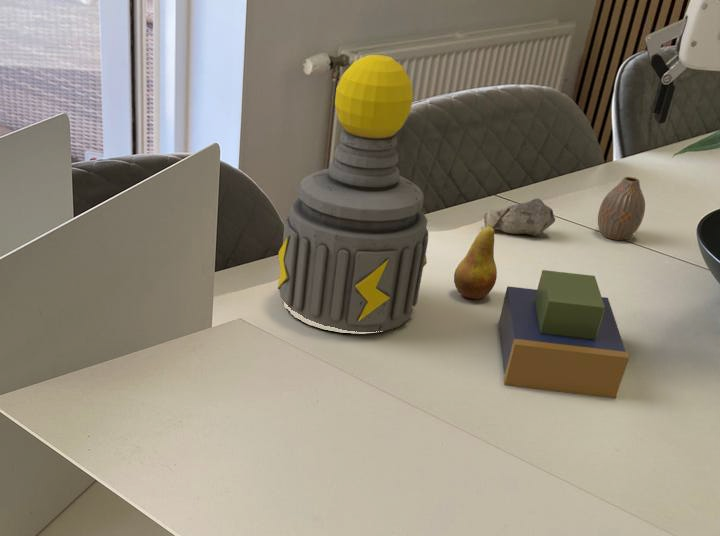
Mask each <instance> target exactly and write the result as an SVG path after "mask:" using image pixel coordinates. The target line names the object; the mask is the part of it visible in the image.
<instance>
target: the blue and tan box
mask: <svg viewBox="0 0 720 536" xmlns="http://www.w3.org/2000/svg"><path fill="white" fill-rule="evenodd" d="M536 293H537V289H534V288H525V287H517V286H509V285H508V286H506V290H505V293H504V298H503V302H502V306H501V311H500V315H499V320H498V330H499V337H500V339H499V340H500V347H501V354H502V355H501V357H502V365H503V373H504V377H503V383H504V386H511V387H517V388H527V389H534V390H535V389H536V390H544V391H551V390H553V392H559V391H562V392H561V393H567V392H571V393H570V394H576V393H578V395H586V396H593V397H602V398H610V399H616V398H617V395H618V393H619V389H620V386H621V384H622V380H623V378H624V374H625V372H626V370H627V369H626V368H627V366H628V363H629V359H630V356H629V354H628V351H626V348H625V345H624V342H623V339H622V337H621V333H620V330H619V327H618V324H617V321H616V318H615V315H614V312H613V309H612V306H611V303H610V299H609V297H603V296H601V297H602V300H603V303H604V306H605V310H604V314H603V317H602V320H601V323H600V327H599V330H598V333H597V336H596V338H595V340H594V339H585V338H577V337H568V336H560V335H551V334H543V333H540V328H539V322H538V317H537V312H536V306H535V301H534V300H535V296H536Z"/></svg>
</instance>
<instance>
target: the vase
mask: <svg viewBox="0 0 720 536" xmlns="http://www.w3.org/2000/svg"><path fill="white" fill-rule="evenodd" d="M645 212H646V200H645V196H644V194H643V190H642V188H641V184H640V179H638V178H637V177H633V176H625V177H623V178H622V180H621V181H620V182H619V183H618V184H617V185H616V186H614V188H612V189H611V190H610V191H609V192H608V193H607V194H606V195H605V197H604V198H603V200H602V202H601V204H600V205H599V209H598V213H597V226H598V229H599V232H600V233H601V235H602V236H603V237H605V238H607V239H610V240H615V241H624V240H626V239H629V238H630V237H631V236H633V235H634V234H635V233H636V232H637V231H638V230H639V228H640V226H641V225H642V222H643V219H644V217H645Z"/></svg>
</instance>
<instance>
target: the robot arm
mask: <svg viewBox="0 0 720 536" xmlns="http://www.w3.org/2000/svg"><path fill="white" fill-rule="evenodd" d="M674 39H676V42H675V46H674V47H675V48H674V55H673V57H671V58H670V59H669V60H668V61H667V62H665V60H664V59H663V56H662V48H661V47H662V46H663V44H665V43H667V42H669V41H671V40H674ZM644 42H645V47H646V51H647V56H648V62H649V64H650V66H651V68H652V70H653V71H654V72H655V74H656V76H657V78H658V79H659V81H658V84H657V88H656V92H655V95H654V99H653V102H652V104H651V105H652V106H651V113H652V114H654V116H653V118H654V120H655V121H656V122H657V124H664V123H666V121H667V118H668V114H669V111H670V108H671V104H672V100H673V97H674V94H675V90H676V86H675V84H674V83H675V80H676V78H678V76H680V75H681V74H682V73H684V72H685V70H687V68H689V69H691V70H699V71H700V70H701V71H712V72H720V0H690V1H689V4H688V6H687V9H686V11H685V14H684V17H683V18H682V19H680V20H677V21H675V22H673V23H671V24H668V25H667V26H664V27H662V28H660V29H658V30H655V31H653V32H651V33H649V34H647V35H646V36H645V41H644Z"/></svg>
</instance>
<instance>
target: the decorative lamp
mask: <svg viewBox="0 0 720 536" xmlns="http://www.w3.org/2000/svg"><path fill="white" fill-rule="evenodd" d="M334 97H335V99H334V106H335V110H336V111H335V112H336V115H337V119H338V121H339V123H340V124H341V126H342V127H343V129H342V131H341V133H340V136H339V140H340V143H338V145H337V146H336V147H335V150H334V152H333V157H334V160H332V161H331V162H330V164H329V167H328V168H324V169H321V170H318V171H316V172H313V173H310V174H308V175H306V176H304V177H303V178H302V180H301V182H300V183H299V187H298V192H297V193H298V196H299V197H298V198H296V199H294V200H293V202H292V204H291V205H290V206H289V213H288V215H287V217H286V219H285V221H284V225H283V227H284V228H283V237H282V246H281V247H280V249H279V251H278V259H279V270H280V272H279V279H278V283H277V284H278V285H277V290H278V291H279V297H280V298H281V300H283V301H284V302H285V303H286V304H287V305H288V307H290V308H291V310H293V311H295V312H297V313H298V314H300V315H302V316H303V317H304V318H306V319H309V320H311V321H314V322H316V323H319V324H322V325H324V326H330V327H335V328H338V329H342V330H347V331H355V332H356V331H357V332H376V331H377V332H378V331H379V332H380V331H386V330H389V329H392V330H394V329H393V328H395V329H397V328H399V327H400V326H402V325H404V324H405V323H406V322H407V321H408V320H409V319H410V316H411V314H412V309H413V307H416V306H417V303H418V299H419V294H420V287H421V282H422V277H423V271H424V267H425V266H426V265H427V263H428V260H427V249H428V244H429V230H428V229H427V225H428V218H427V216H426V215H425V213H424V212H423V210H422V209H423V206H424V199H425V194H424V193H423V191H422V190H421V188H420V187H419V186H417V185H416V184H415V183H413V182H412V181H410V180H408V179H407V178H405V177H403V176H401V175H400V170H399V167H398V166H397V164H398V163H399V153H398V151H397V149H396V148H395V147H397V144H398V141H397V135H396V133H397V132H399V131H400V130H401V129H402V127H403V126H404V125H405V123H406V121H407V119H408V117H409V115H410V113H411V111H412V105H413V100H414V92H413V86H412V81H411V79H410V77H409V75H408V73H407V71H406V70H405V68H404V67H403V65H402V64H400V63H399V62H397V61H396V60H395V59H394V58H393V57H391V56H388V55H383V54H367V55H365V56H363V57H361V58H360V59H357V60H355V61H353V63H352V64H351V65H350V66H349V67H348V68H347V69H346V70H345V71H344V72H343V74H342V75H341V77H340V79H339V82H338V83H337V86H336V89H335V96H334ZM283 301H282V302H283ZM396 327H397V328H396ZM389 331H390V330H389ZM386 332H387V331H386Z"/></svg>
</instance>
